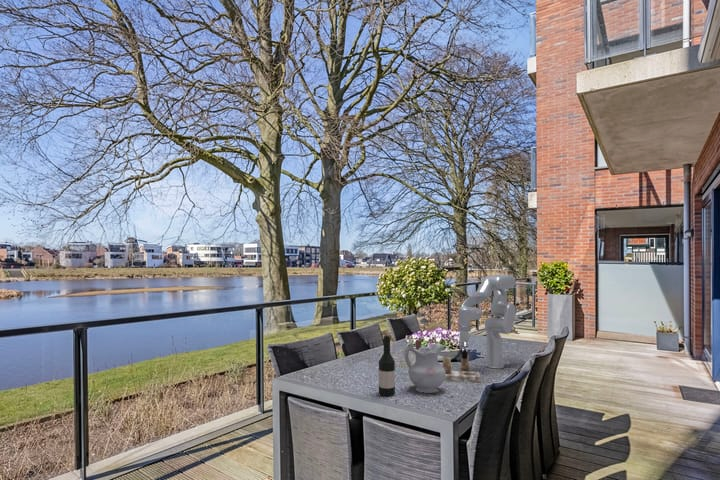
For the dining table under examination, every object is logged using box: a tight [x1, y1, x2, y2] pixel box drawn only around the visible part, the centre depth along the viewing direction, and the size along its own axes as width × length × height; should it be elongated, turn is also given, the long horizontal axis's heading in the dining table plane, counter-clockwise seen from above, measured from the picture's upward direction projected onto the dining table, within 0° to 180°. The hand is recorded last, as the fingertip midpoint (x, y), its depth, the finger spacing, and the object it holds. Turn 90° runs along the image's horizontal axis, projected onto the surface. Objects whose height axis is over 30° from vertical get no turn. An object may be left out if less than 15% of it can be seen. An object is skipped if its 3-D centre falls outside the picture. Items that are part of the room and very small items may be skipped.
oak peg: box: [460, 353, 470, 371], centre depth 259 cm, size 5×5×12 cm
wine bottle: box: [378, 334, 396, 398], centre depth 220 cm, size 8×8×30 cm
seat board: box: [442, 356, 482, 383], centre depth 249 cm, size 24×12×12 cm, turn 80°
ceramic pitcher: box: [404, 342, 445, 394], centre depth 227 cm, size 22×20×25 cm
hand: (464, 356), depth 259 cm, fingers open, 9 cm apart
